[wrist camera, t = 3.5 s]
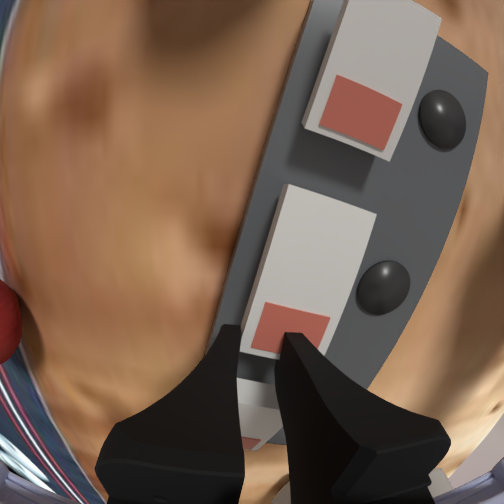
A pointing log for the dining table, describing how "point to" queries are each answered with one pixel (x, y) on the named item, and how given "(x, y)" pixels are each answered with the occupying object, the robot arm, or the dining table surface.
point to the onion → (9, 322)
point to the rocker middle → (305, 271)
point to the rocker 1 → (257, 413)
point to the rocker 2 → (372, 73)
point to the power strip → (363, 199)
